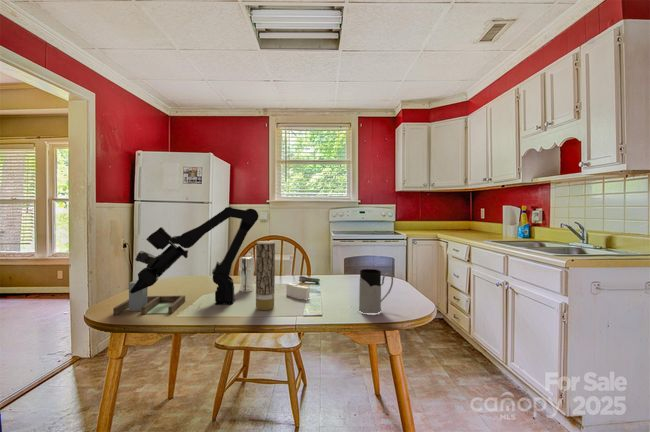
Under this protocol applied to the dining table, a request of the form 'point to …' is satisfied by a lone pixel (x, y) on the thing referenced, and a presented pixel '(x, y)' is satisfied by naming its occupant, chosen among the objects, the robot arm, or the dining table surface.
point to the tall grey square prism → (137, 298)
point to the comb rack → (155, 305)
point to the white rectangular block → (297, 291)
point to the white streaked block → (246, 273)
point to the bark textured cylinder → (265, 275)
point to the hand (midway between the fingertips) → (134, 289)
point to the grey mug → (371, 290)
